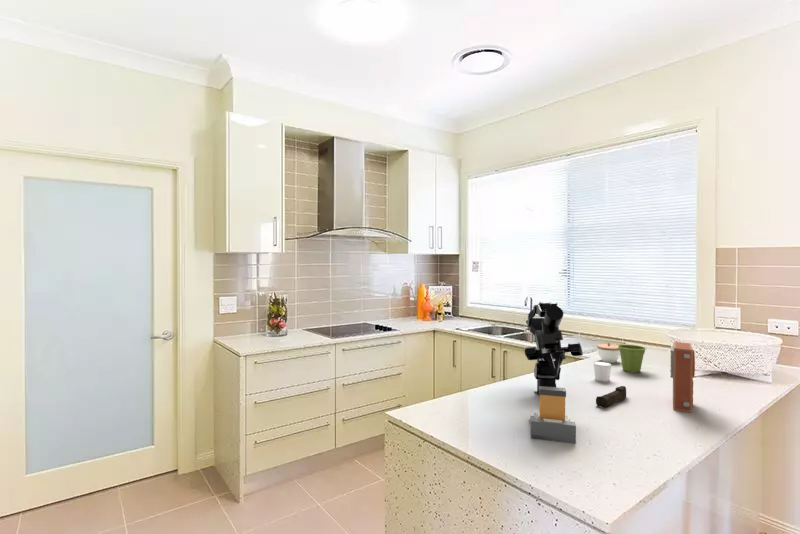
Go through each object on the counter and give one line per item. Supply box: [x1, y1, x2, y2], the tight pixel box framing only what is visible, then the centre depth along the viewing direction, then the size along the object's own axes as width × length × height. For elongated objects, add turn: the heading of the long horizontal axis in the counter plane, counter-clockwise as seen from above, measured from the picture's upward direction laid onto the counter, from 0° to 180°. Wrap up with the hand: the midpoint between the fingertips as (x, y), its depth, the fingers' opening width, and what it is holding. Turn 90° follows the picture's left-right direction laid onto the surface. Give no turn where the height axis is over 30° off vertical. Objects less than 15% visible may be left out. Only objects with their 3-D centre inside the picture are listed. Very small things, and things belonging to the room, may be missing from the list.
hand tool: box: [595, 385, 627, 409], centre depth 154 cm, size 19×4×5 cm, turn 126°
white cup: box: [593, 361, 612, 382], centre depth 184 cm, size 7×7×7 cm
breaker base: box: [530, 412, 577, 444], centre depth 129 cm, size 16×12×5 cm
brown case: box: [669, 341, 696, 413], centre depth 150 cm, size 21×7×15 cm
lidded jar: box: [596, 342, 621, 364], centre depth 217 cm, size 11×11×9 cm
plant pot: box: [617, 344, 647, 373], centre depth 198 cm, size 12×12×11 cm
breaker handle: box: [538, 386, 567, 421], centre depth 126 cm, size 3×7×12 cm, turn 74°
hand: (555, 374), depth 146 cm, fingers closed
